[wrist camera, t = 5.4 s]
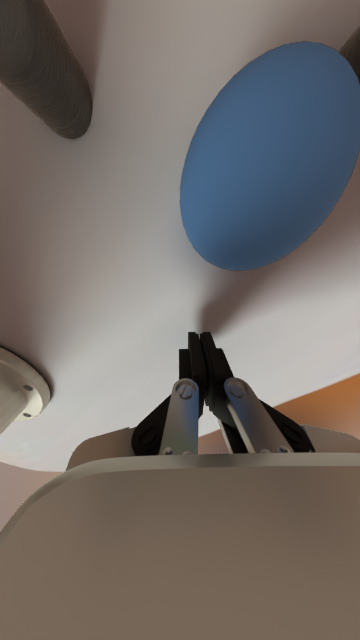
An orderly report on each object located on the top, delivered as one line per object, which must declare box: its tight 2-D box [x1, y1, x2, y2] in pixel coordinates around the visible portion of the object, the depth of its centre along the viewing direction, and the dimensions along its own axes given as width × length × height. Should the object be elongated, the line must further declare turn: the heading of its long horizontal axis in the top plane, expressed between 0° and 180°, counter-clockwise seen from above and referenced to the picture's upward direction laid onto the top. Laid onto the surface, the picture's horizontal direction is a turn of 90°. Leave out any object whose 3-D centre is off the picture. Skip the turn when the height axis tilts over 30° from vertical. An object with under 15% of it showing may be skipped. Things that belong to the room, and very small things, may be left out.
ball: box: [180, 41, 360, 271], centre depth 6 cm, size 6×6×6 cm
